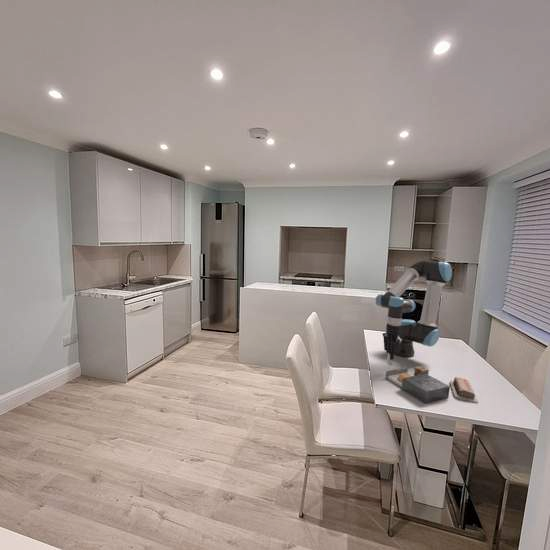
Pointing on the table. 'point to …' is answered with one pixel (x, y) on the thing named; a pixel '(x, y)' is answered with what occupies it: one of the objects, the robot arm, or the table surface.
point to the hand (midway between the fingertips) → (389, 364)
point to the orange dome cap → (403, 376)
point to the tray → (396, 375)
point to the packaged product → (463, 390)
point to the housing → (425, 388)
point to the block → (420, 371)
